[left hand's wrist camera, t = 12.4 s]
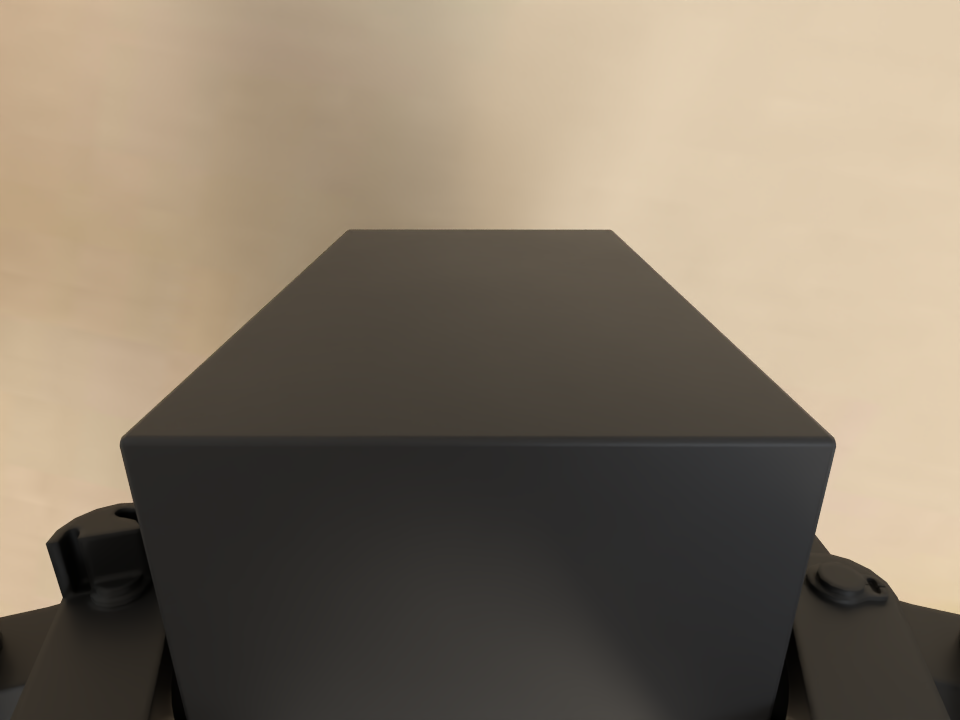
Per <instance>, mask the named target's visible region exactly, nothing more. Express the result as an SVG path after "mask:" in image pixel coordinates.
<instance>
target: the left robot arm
mask: <svg viewBox="0 0 960 720" xmlns="http://www.w3.org/2000/svg"><path fill="white" fill-rule="evenodd" d="M46 546H47V549H48V552H49V555H50V558H51V562H52V565H53V568H54V571H55V574H56V577H57V581H58V584H59V587H60V590H61V593H62V596H63V599H62V601H61V603H60V604H57V605H54V606H50V607H46V608H42V609H37V610H33V611H28V612H24V613H19V614H14V615H10V616H5V617H1V618H0V720H186V716H185V711H184V707H183V703H182V699H181V695H180V691H179V687H178V683H177V679H176V675H175V670H174V666H173V662H172V658H171V654H170V650H169V646H168V642H167V638H166V634H165V629H164V625H163V621H162V617H161V613H160V609H159V605H158V601H157V597H156V592H155V588H154V584H153V580H152V576H151V572H150V568H149V564H148V560H147V556H146V551H145V547H144V543H143V539H142V535H141V531H140V527H139V523H138V519H137V515H136V510H135V506H134V503H121V504H115V505H111V506H107V507H103V508H99V509H96V510H93V511H91V512H89V513H86V514H84V515H82V516H79V517H77V518H75V519H73V520H72V521H70V522H69V523H67V524H66V525H64V526H63V527H61V528H60V529H58V530H57V531H56V532H55V533H54V535H53V536H52V537H51V538H50V539H49V541H48V542H47V543H46ZM770 720H960V615H959V614H954V613H949V612H945V611H940V610H936V609H931V608H926V607H922V606H917V605H913V604H909V603H906V602H902V601H899V600H898V598H897V596H896V595H895V593H894V592H893V590H892V589H891V588H890V586H889V585H888V583H887V582H885V581H884V580H883V579H882V578H880V577H879V576H878V575H876V574H875V573H874V572H873V571H871V570H870V569H868V568H866V567H864V566H862V565H860V564H858V563H856V562H854V561H851V560H849V559H846V558H842V557H838V556H835V555H831V554H830V553H829V552H828V550H827V549H826V548H825V547H824V545H823V544H822V543H821V542H820V540H819V539H818V538H817V536H816V535H815V536H814V540H813V544H812V548H811V553H810V557H809V561H808V565H807V569H806V573H805V577H804V582H803V586H802V590H801V594H800V598H799V602H798V607H797V611H796V615H795V619H794V623H793V627H792V631H791V636H790V640H789V644H788V648H787V652H786V656H785V661H784V665H783V669H782V673H781V677H780V681H779V685H778V690H777V694H776V698H775V702H774V706H773V710H772V715H771V719H770Z"/></svg>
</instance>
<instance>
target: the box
mask: <svg viewBox="0 0 960 720" xmlns="http://www.w3.org/2000/svg"><path fill="white" fill-rule="evenodd" d="M120 449H121V453H122V457H123V461H124V465H125V469H126V474H127V478H128V482H129V486H130V490H131V494H132V498H133V502H134V506H135V510H136V515H137V519H138V523H139V527H140V531H141V535H142V539H143V543H144V547H145V551H146V556H147V560H148V564H149V568H150V572H151V576H152V580H153V584H154V588H155V592H156V597H157V601H158V605H159V609H160V613H161V617H162V621H163V625H164V629H165V634H166V638H167V642H168V646H169V650H170V654H171V658H172V662H173V666H174V670H175V675H176V679H177V683H178V687H179V691H180V695H181V699H182V703H183V707H184V711H185V716H186V720H770V719H771V715H772V710H773V706H774V702H775V698H776V694H777V690H778V685H779V681H780V677H781V673H782V669H783V665H784V661H785V656H786V652H787V648H788V644H789V640H790V636H791V631H792V627H793V623H794V619H795V615H796V611H797V607H798V602H799V598H800V594H801V590H802V586H803V582H804V577H805V573H806V569H807V565H808V561H809V557H810V553H811V548H812V544H813V540H814V536H815V532H816V528H817V523H818V519H819V515H820V511H821V507H822V503H823V499H824V494H825V490H826V486H827V482H828V478H829V474H830V469H831V465H832V461H833V457H834V453H835V449H836V442H835V439H834V437H833V436H832V435H830V434H829V433H828V432H827V431H826V430H825V429H824V428H823V427H822V426H821V425H820V424H819V423H818V422H817V421H815V420H814V419H813V418H812V417H811V416H810V415H809V414H808V413H807V412H806V411H805V410H804V409H803V408H802V407H800V406H799V405H798V404H797V403H796V402H795V401H794V400H793V399H792V398H791V397H790V396H789V395H788V394H787V393H785V392H784V391H783V390H782V389H781V388H780V387H779V386H778V385H777V384H776V383H775V382H774V381H773V380H772V379H770V378H769V377H768V376H767V375H766V374H765V373H764V372H763V371H762V370H761V369H760V368H759V367H758V366H757V365H755V364H754V363H753V362H752V361H751V360H750V359H749V358H748V357H747V356H746V355H745V354H744V353H743V352H742V351H741V350H739V349H738V348H737V347H736V346H735V345H734V344H733V343H732V342H731V341H730V340H729V339H728V338H727V337H726V336H724V335H723V334H722V333H721V332H720V331H719V330H718V329H717V328H716V327H715V326H714V325H713V324H712V323H711V322H709V321H708V320H707V319H706V318H705V317H704V316H703V315H702V314H701V313H700V312H699V311H698V310H697V309H696V308H694V307H693V306H692V305H691V304H690V303H689V302H688V301H687V300H686V299H685V298H684V297H683V296H682V295H681V294H679V293H678V292H677V291H676V290H675V289H674V288H673V287H672V286H671V285H670V284H669V283H668V282H667V281H666V280H664V279H663V278H662V277H661V276H660V275H659V274H658V273H657V272H656V271H655V270H654V269H653V268H652V267H651V266H649V265H648V264H647V263H646V262H645V261H644V260H643V259H642V258H641V257H640V256H639V255H638V254H637V253H636V252H634V251H633V250H632V249H631V248H630V247H629V246H628V245H627V244H626V243H625V242H624V241H623V240H622V239H621V238H620V237H618V236H617V235H616V234H615V233H614V232H613V231H612V230H348V231H347V232H345V233H344V234H343V235H342V236H341V237H340V238H339V239H338V240H337V241H336V242H335V243H333V244H332V245H331V246H330V247H329V248H328V249H327V250H326V251H325V252H324V253H323V254H321V255H320V256H319V257H318V258H317V259H316V260H315V261H314V262H313V263H312V264H311V265H309V266H308V267H307V268H306V269H305V270H304V271H303V272H302V273H301V274H300V275H299V276H297V277H296V278H295V279H294V280H293V281H292V282H291V283H290V284H289V285H288V286H287V287H285V288H284V289H283V290H282V291H281V292H280V293H279V294H278V295H277V296H276V297H275V298H273V299H272V300H271V301H270V302H269V303H268V304H267V305H266V306H265V307H264V308H262V309H261V310H260V311H259V312H258V313H257V314H256V315H255V316H254V317H253V318H252V319H250V320H249V321H248V322H247V323H246V324H245V325H244V326H243V327H242V328H241V329H240V330H238V331H237V332H236V333H235V334H234V335H233V336H232V337H231V338H230V339H229V340H228V341H226V342H225V343H224V344H223V345H222V346H221V347H220V348H219V349H218V350H217V351H216V352H214V353H213V354H212V355H211V356H210V357H209V358H208V359H207V360H206V361H205V362H204V363H202V364H201V365H200V366H199V367H198V368H197V369H196V370H195V371H194V372H193V373H192V374H190V375H189V376H188V377H187V378H186V379H185V380H184V381H183V382H182V383H181V384H180V385H178V386H177V387H176V388H175V389H174V390H173V391H172V392H171V393H170V394H169V395H167V396H166V397H165V398H164V399H163V400H162V401H161V402H160V403H159V404H158V405H157V406H155V407H154V408H153V409H152V410H151V411H150V412H149V413H148V414H147V415H146V416H145V417H143V418H142V419H141V420H140V421H139V422H138V423H137V424H136V425H135V426H134V427H133V428H131V429H130V430H129V431H128V432H127V433H126V434H125V435H124V436H123V437H122V438H121V441H120Z"/></svg>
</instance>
